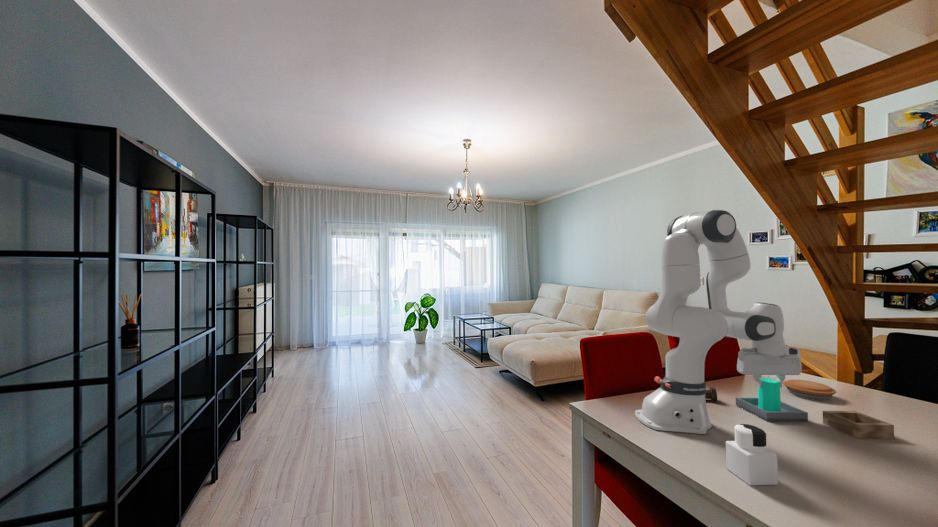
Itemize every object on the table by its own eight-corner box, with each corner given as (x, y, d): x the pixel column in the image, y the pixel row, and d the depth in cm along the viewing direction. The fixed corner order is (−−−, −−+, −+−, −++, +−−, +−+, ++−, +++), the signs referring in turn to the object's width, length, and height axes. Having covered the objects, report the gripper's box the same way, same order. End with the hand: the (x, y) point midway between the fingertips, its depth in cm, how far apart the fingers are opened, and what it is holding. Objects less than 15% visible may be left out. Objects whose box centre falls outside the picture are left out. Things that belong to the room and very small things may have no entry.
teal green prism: (772, 414, 117) (771, 379, 117) (754, 407, 123) (753, 374, 123) (785, 412, 118) (784, 378, 119) (766, 406, 124) (765, 373, 124)
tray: (766, 421, 114) (766, 412, 114) (735, 405, 127) (735, 397, 127) (808, 421, 113) (807, 412, 114) (772, 405, 127) (772, 397, 127)
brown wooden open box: (858, 438, 102) (858, 424, 102) (822, 422, 112) (822, 410, 113) (894, 438, 102) (893, 425, 102) (855, 423, 112) (854, 410, 112)
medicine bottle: (752, 467, 87) (751, 420, 87) (779, 485, 80) (777, 433, 80) (725, 468, 87) (724, 421, 87) (749, 486, 79) (748, 434, 80)
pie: (842, 398, 135) (842, 385, 135) (828, 405, 127) (828, 392, 127) (791, 386, 148) (791, 375, 148) (776, 393, 141) (775, 380, 141)
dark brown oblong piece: (671, 399, 139) (715, 404, 132) (672, 397, 135) (718, 401, 129) (669, 385, 141) (713, 388, 135) (671, 382, 138) (715, 385, 131)
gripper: (745, 350, 118) (746, 390, 118) (805, 350, 118) (806, 390, 117) (731, 346, 124) (732, 384, 124) (788, 346, 124) (789, 384, 124)
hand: (769, 387), depth 121 cm, fingers closed on teal green prism, 5 cm apart
